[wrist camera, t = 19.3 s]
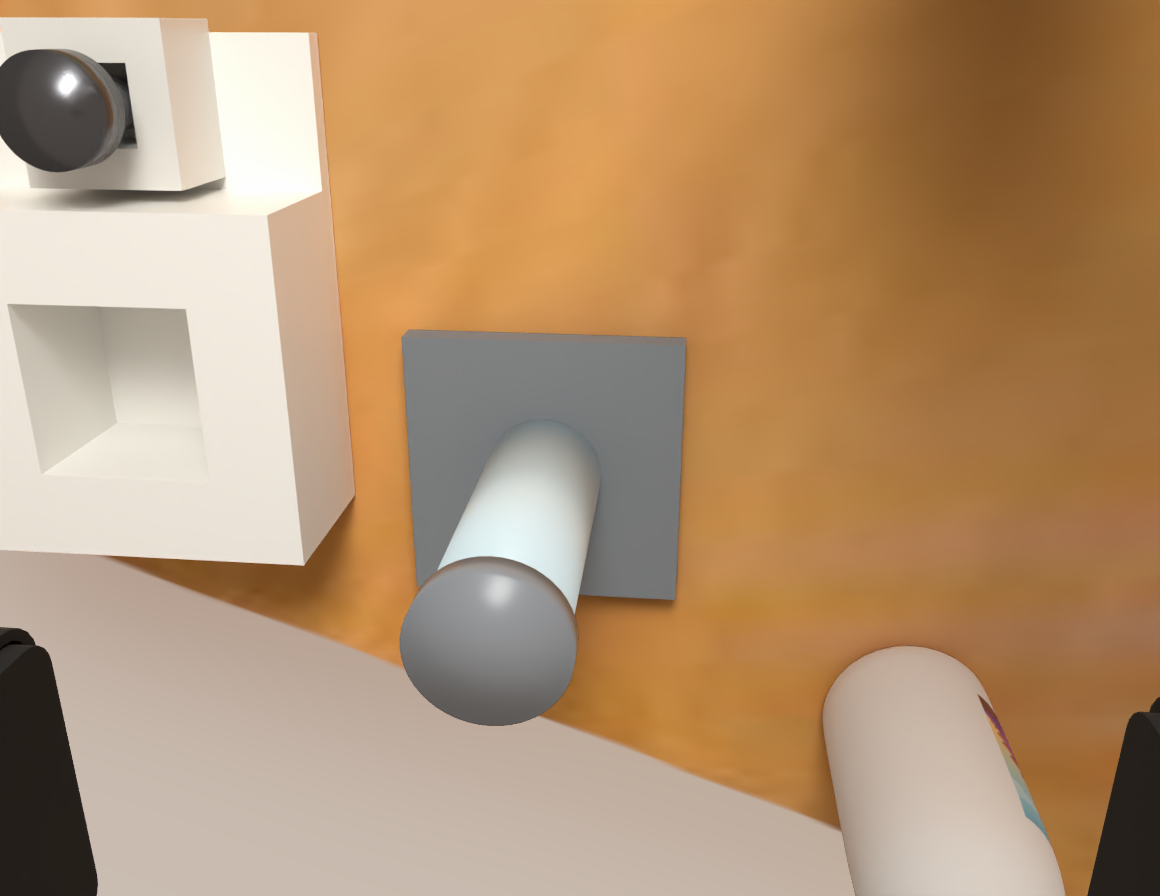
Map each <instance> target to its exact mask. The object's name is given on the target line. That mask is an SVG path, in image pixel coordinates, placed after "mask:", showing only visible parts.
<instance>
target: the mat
mask: <svg viewBox="0 0 1160 896" xmlns="http://www.w3.org/2000/svg"><path fill="white" fill-rule="evenodd" d="M402 350H403V366H404V382H405V399H406V415H407V431H408V447H409V464H410V480H411V496H412V512H413V529H414V545H415V561H416V577H417V586H420V587H421V586H422V585H423V583H424V582H425V581H426V580H427V579H428V578H429V577H430V576H431V575H432V574H434V573H435V572H436V571H437V570H438V567H439V565H440V563H441V561H442V559H443V556H444V554H445V552H446V550H447V548H448V546H449V543H450V541H451V539H452V537H453V535H454V532H455V530H456V528H457V526H458V524H459V522H460V519H461V517H462V515H463V513H464V511H465V509H466V506H467V504H468V502H469V500H470V498H471V495H472V493H473V491H474V489H475V487H476V485H477V482H478V480H479V478H480V476H481V474H482V471H483V469H484V467H485V465H486V463H487V461H488V458H489V456H490V454H491V452H492V450H493V448H494V446H495V444H496V443H497V441H498V440H499V439H500V438H501V437H502V435H503V434H505V433H506V432H507V431H508V430H510V429H511V428H513V427H515V426H517V425H519V424H521V423H524V422H528V421H534V420H550V421H555V422H559V423H562V424H565V425H567V426H569V427H571V428H573V429H575V430H576V431H578V432H579V433H580V434H581V435H583V436H584V437H585V438H586V439H587V440H588V442H589V443H590V444H591V445H592V447H593V448H594V450H595V452H596V454H597V456H598V459H599V462H600V467H601V483H600V488H599V493H598V498H597V504H596V509H595V514H594V519H593V524H592V529H591V534H590V539H589V544H588V549H587V555H586V560H585V565H584V570H583V575H582V580H581V585H580V590H579V595H591V596H610V597H629V598H648V599H667V600H676V576H677V552H678V527H679V503H680V478H681V454H682V430H683V405H684V381H685V357H686V338H674V337H641V336H607V335H574V334H540V333H507V332H473V331H440V330H408V331H407V332H406V333H405V334H404V335H403V336H402Z"/></svg>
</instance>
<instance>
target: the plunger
mask: <svg viewBox="0 0 1160 896" xmlns="http://www.w3.org/2000/svg"><path fill="white" fill-rule="evenodd" d="M132 128H135V127H134V120H133V113H132V106H131V100H130V93H129V86H128V79H127V74H119V75H109V74H108V73H107V71H106V70H105V69H104V68H103V67H102V66H101V65H99V64H98V63H97V62H96V61H94V60H93V59H91V58H90V57H88V56H86V55H84V54H82V53H80V52H77V51H74V50H69V49H35V50H26V51H22V52H19V53H17V54H14V55H13V56H11V57H9V58H8V59H7V60H6V61H5V62H4V63H3V64H2V65H1V66H0V136H1V138H2V139H3V141H4V142H5V143H6V145H7V146H8V147H9V148H10V149H11V151H12V152H13V153H14V154H15V155H17V156H18V157H19V158H20V159H21V160H23V161H24V162H26V163H28V164H29V165H31V166H33V167H35V168H38V169H41V170H44V171H49V172H67V171H72V170H76V169H80V168H85V167H89V166H93V165H96V164H99V163H101V162H103V161H104V160H106V159H107V158H108V157H110V156H111V155H112V154H113V153H114V152H115V150H116V149H117V147H118V146H119V144H120V142H121V140H122V137H123V133H124V130H126V129H132Z"/></svg>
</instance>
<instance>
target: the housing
mask: <svg viewBox="0 0 1160 896" xmlns="http://www.w3.org/2000/svg"><path fill="white" fill-rule="evenodd" d="M0 28H1V32H0V66H1V65H2V64H3V63H4V62H5V61H6V60H7V59H8V58H9V57H11V56H13V55H14V54H17V53H19V52H22V51H26V50H35V49H69V50H74V51H77V52H80V53H82V54H84V55H86V56H88V57H90V58H91V59H93V60H94V61H96V62H97V63H98V64H99V65H101V66H102V67H103V68H104V69H105V70H106V71H107V73H108V74H109V75H119V74H127V79H128V86H129V93H130V100H131V106H132V113H133V120H134V127H135V128H132V129H126V130H124V133H123V137H122V140H121V142H120V144H119V146H118V147H117V149H116V150H115V152H114V153H113V154H112V155H111V156H110V157H108V158H107V159H106V160H104V161H103V162H101V163H99V164H96V165H93V166H89V167H85V168H80V169H76V170H72V171H67V172H49V171H44V170H41V169H38V168H35V167H33V166H31V165H29V164H28V163H26V162H24V161H23V160H21V159H20V158H19V157H18V156H17V155H15V154H14V153H13V152H12V151H11V149H10V148H9V147H8V146H7V145H6V143H5V142H4V141H3V139H2V138H1V136H0V550H14V551H32V552H52V553H72V554H90V555H110V556H129V557H149V558H168V559H188V560H207V561H227V562H246V563H266V564H285V565H305V563H306V562H307V561H308V559H309V558H310V557H311V555H312V554H313V552H314V551H315V550H316V548H317V547H318V546H319V544H320V543H321V541H322V540H323V539H324V537H325V536H326V534H327V533H328V532H329V530H330V529H331V528H332V526H333V525H334V523H335V522H336V521H337V519H338V518H339V517H340V515H341V514H342V512H343V511H344V510H345V508H346V507H347V506H348V504H349V503H350V501H351V500H352V499H353V497H354V496H355V484H354V472H353V460H352V448H351V436H350V424H349V412H348V400H347V388H346V376H345V364H344V352H343V340H342V328H341V316H340V304H339V292H338V279H337V267H336V255H335V243H334V231H333V219H332V207H331V195H330V183H329V171H328V159H327V147H326V135H325V123H324V111H323V99H322V87H321V75H320V63H319V51H318V39H317V33H268V32H209V30H208V21H207V19H198V18H0Z"/></svg>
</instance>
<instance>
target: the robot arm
mask: <svg viewBox="0 0 1160 896" xmlns="http://www.w3.org/2000/svg"><path fill="white" fill-rule="evenodd" d="M97 887H98V881H97V873H96V868H95V863H94V858H93V854H92V849H91V844H90V840H89V835H88V831H87V826H86V821H85V817H84V812H83V807H82V802H81V798H80V793H79V788H78V783H77V779H76V774H75V769H74V765H73V760H72V755H71V751H70V746H69V741H68V736H67V732H66V727H65V722H64V718H63V713H62V708H61V704H60V699H59V694H58V690H57V685H56V680H55V676H54V671H53V666H52V662H51V659H50V656H49V654H48V652H47V651H46V650H45V649H44V648H42V647H40V646H36V645H35V642H34V639H33V638H32V637H31V636H30V635H29V633H28V632H26V631H24V630H22V629H19V628H4V627H0V896H96V895H97ZM1087 896H1160V697H1159V698H1157V699H1156V701H1155V702H1154V703H1153V705H1152V706H1151V709H1150V711H1149V712H1137V713H1134V714H1133V715H1132V717H1131V718H1130V719H1129V722H1128V725H1127V728H1126V732H1125V736H1124V740H1123V745H1122V749H1121V753H1120V758H1119V762H1118V766H1117V771H1116V775H1115V779H1114V783H1113V788H1112V792H1111V796H1110V801H1109V805H1108V809H1107V814H1106V818H1105V822H1104V826H1103V831H1102V835H1101V839H1100V844H1099V848H1098V852H1097V857H1096V861H1095V865H1094V869H1093V874H1092V878H1091V882H1090V887H1089V891H1088V895H1087Z"/></svg>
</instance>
